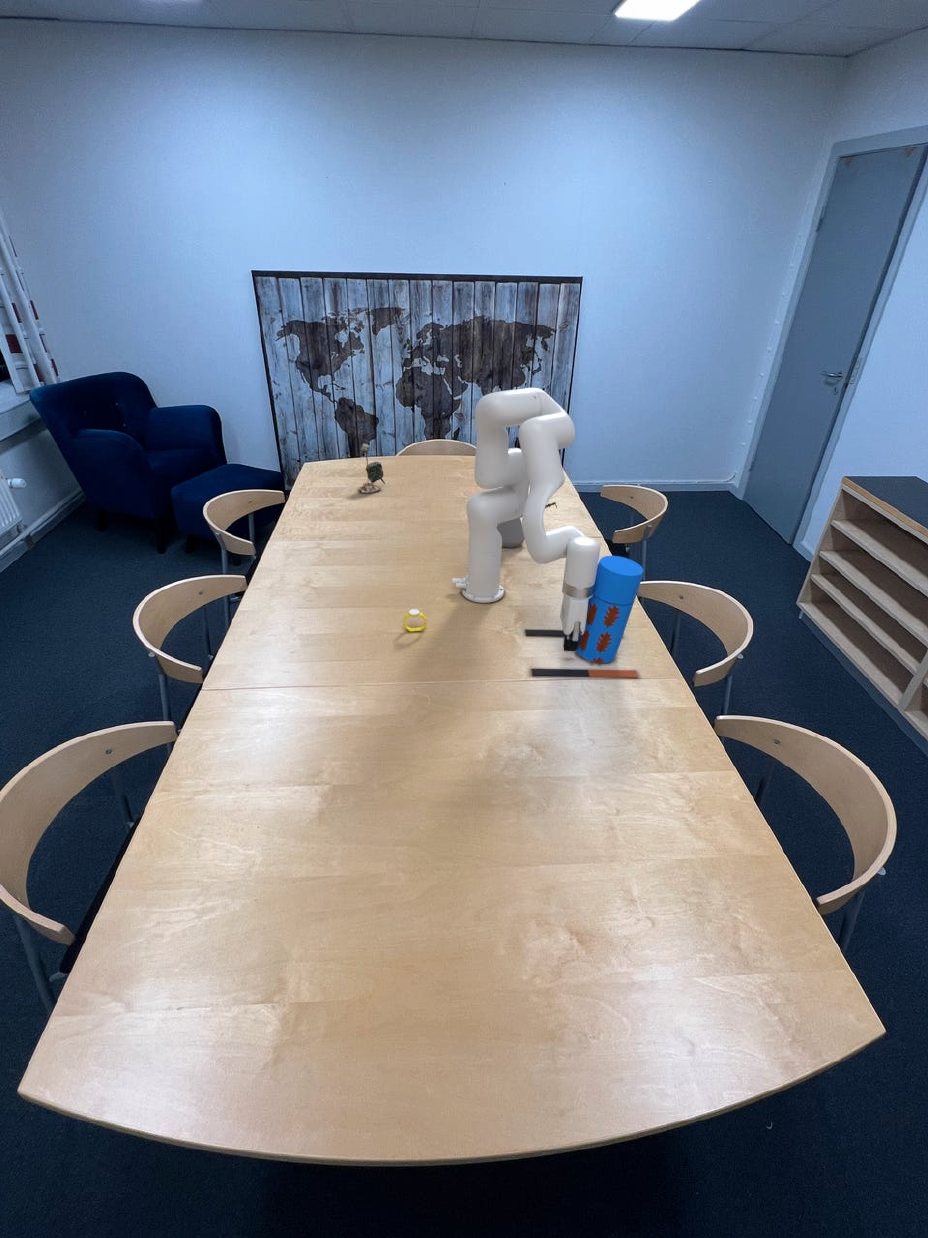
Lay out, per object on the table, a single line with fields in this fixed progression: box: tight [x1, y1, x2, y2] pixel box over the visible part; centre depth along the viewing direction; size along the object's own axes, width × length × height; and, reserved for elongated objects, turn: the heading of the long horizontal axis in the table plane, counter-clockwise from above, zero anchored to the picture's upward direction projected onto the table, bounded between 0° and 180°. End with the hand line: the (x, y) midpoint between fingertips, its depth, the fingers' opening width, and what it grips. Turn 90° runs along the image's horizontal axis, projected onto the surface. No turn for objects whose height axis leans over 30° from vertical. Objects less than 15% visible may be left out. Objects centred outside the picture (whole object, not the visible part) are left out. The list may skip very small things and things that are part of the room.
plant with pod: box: [358, 443, 386, 494], centre depth 246 cm, size 8×11×20 cm
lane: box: [525, 628, 639, 679], centre depth 159 cm, size 26×20×1 cm
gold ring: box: [403, 608, 427, 632], centre depth 164 cm, size 6×3×6 cm, turn 96°
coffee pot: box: [496, 501, 558, 549], centre depth 209 cm, size 21×12×15 cm, turn 95°
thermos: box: [575, 555, 644, 664], centre depth 153 cm, size 11×11×25 cm
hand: (569, 649), depth 158 cm, fingers closed
